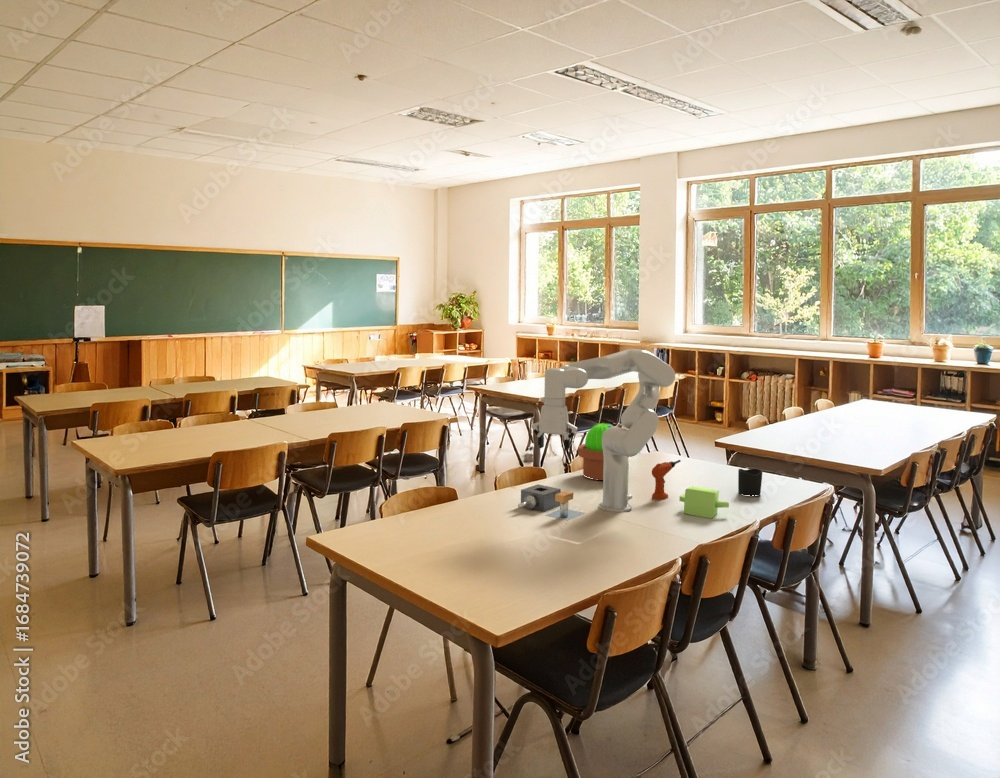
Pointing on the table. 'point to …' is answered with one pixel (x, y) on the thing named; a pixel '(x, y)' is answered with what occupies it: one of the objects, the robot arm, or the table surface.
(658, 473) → the toy drill
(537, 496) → the block
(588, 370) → the robot arm
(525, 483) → the table surface
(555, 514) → the key mat
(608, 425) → the potted cactus
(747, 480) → the pen holder
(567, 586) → the table surface
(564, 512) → the chuck key
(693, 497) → the gearbox
